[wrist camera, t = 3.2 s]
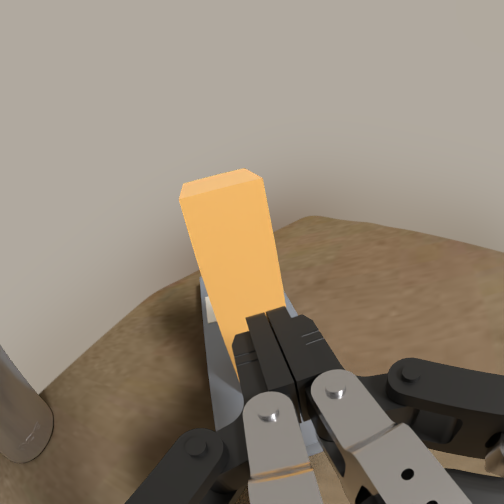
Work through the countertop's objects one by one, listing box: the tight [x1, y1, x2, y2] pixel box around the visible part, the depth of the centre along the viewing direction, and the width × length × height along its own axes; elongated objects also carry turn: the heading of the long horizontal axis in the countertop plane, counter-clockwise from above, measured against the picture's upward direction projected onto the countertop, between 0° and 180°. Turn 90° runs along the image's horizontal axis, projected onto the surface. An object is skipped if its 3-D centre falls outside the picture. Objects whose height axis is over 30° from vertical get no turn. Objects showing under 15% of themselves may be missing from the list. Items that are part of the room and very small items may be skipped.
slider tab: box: [179, 168, 286, 380], centre depth 18 cm, size 5×4×14 cm
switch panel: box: [200, 277, 323, 456], centre depth 26 cm, size 26×9×2 cm, turn 12°
